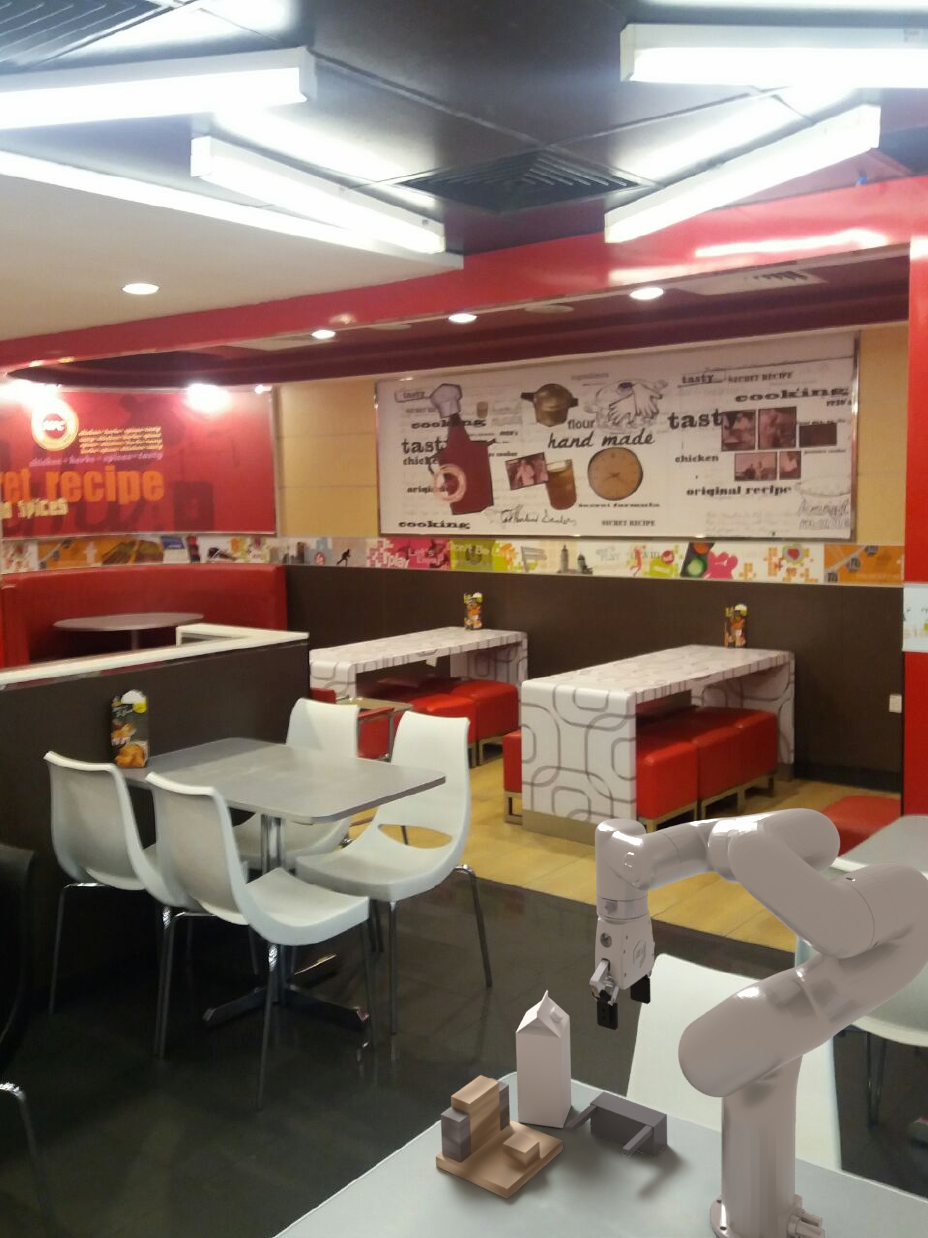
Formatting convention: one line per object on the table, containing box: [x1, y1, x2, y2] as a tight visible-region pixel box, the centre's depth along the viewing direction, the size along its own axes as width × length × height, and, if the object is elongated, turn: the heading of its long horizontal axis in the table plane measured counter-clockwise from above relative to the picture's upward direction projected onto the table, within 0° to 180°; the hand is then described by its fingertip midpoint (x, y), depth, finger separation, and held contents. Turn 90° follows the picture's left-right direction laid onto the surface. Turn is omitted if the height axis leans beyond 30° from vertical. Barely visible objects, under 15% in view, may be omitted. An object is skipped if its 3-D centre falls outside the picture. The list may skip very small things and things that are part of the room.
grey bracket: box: [565, 1090, 668, 1158], centre depth 168 cm, size 11×11×5 cm
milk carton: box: [515, 989, 572, 1129], centre depth 177 cm, size 7×7×19 cm
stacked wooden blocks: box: [435, 1074, 563, 1200], centre depth 167 cm, size 13×14×10 cm
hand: (624, 1014), depth 168 cm, fingers open, 9 cm apart
